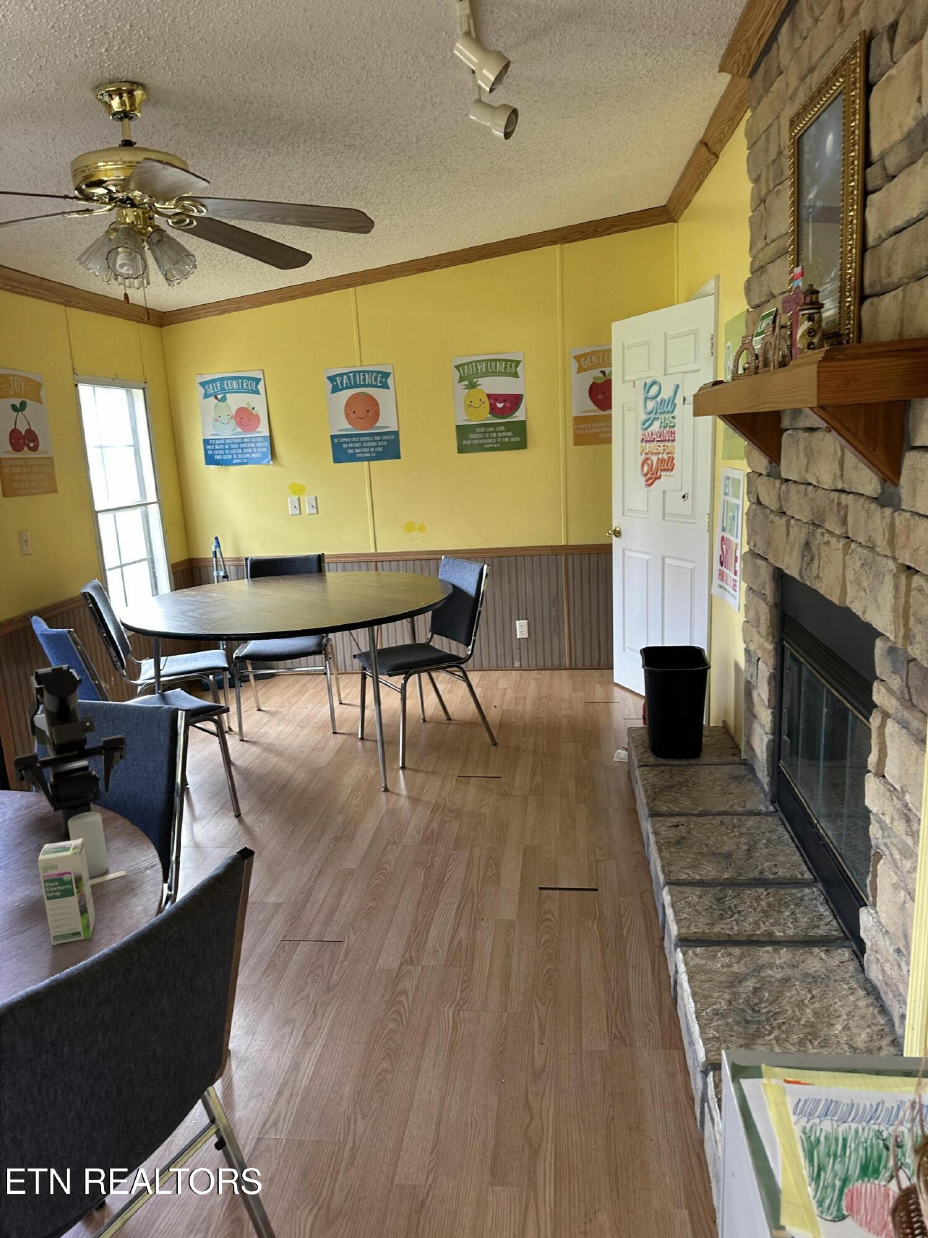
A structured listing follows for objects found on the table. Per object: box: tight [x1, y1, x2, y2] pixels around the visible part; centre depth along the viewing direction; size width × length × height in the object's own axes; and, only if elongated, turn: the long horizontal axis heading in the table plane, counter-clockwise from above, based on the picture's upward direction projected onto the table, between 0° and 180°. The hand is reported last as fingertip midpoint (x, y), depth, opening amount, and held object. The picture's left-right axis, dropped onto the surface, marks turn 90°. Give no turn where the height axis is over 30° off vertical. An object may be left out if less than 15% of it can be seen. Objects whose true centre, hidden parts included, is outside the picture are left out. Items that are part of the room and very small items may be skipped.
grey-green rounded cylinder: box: [68, 811, 109, 879], centre depth 150 cm, size 5×5×10 cm
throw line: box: [89, 870, 127, 886], centre depth 147 cm, size 10×2×1 cm, turn 121°
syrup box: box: [37, 838, 96, 946], centre depth 130 cm, size 6×6×14 cm
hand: (80, 799), depth 151 cm, fingers open, 9 cm apart
